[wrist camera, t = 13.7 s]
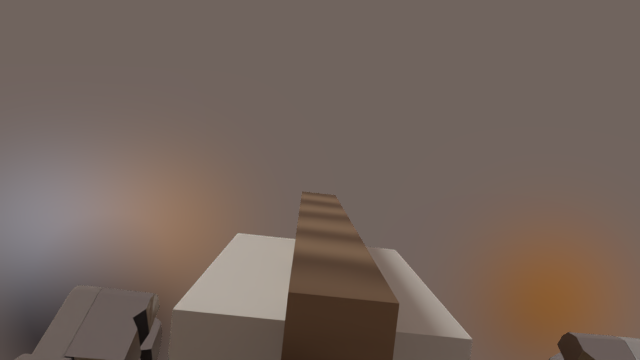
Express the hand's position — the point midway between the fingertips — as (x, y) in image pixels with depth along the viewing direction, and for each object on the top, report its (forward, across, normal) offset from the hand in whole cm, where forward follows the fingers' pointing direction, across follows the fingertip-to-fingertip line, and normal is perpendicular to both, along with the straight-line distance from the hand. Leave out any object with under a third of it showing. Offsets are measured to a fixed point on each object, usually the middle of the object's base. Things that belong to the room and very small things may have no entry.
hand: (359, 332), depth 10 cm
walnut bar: (+15, 0, +12) cm, 19 cm away
